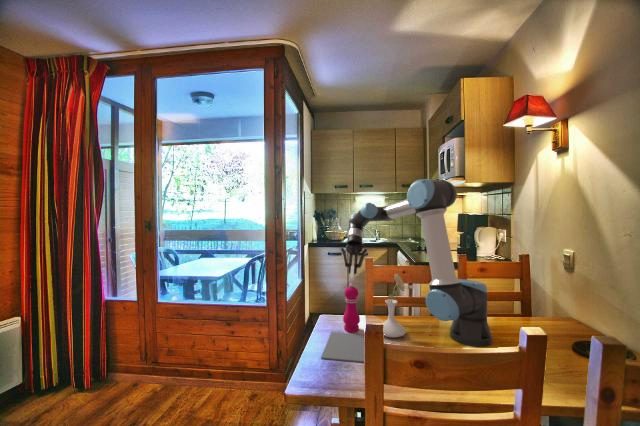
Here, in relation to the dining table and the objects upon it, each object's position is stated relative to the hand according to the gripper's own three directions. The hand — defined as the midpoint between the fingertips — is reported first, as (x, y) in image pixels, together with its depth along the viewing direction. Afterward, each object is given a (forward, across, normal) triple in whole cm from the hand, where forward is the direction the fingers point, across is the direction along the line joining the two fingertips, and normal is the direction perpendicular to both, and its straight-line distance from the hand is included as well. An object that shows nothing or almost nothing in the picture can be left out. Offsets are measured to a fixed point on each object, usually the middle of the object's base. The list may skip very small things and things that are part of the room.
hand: (351, 279), depth 139 cm
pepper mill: (+20, -1, -8) cm, 22 cm away
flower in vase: (+21, -18, -7) cm, 29 cm away
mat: (+32, -1, +4) cm, 32 cm away
